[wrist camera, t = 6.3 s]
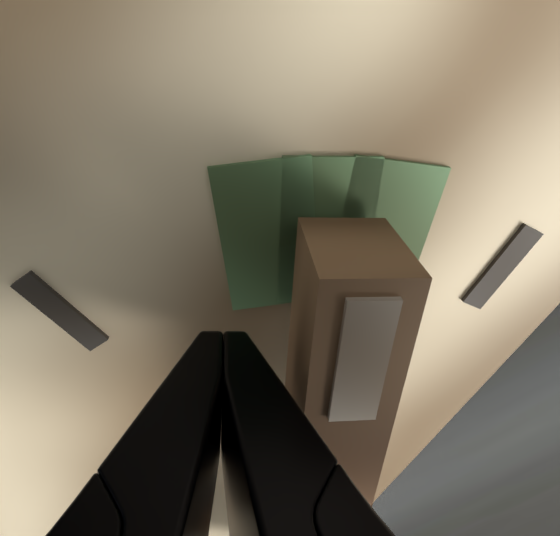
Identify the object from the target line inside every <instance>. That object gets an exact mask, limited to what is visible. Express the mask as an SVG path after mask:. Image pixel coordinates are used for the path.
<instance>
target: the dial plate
mask: <svg viewBox="0 0 560 536" xmlns="http://www.w3.org/2000/svg"><path fill="white" fill-rule="evenodd" d="M298 217H323V218H386V219H387V221H388V222H389V223H390V224H391V226H392V227H393V228H394V230H395V231H396V232H397V233H398V235H399V236H400V237H401V238H402V240H403V241H404V242H405V244H406V245H407V246H408V247H409V249H410V250H411V251H412V253H413V254H414V255H415V256H416V258H417V259H418V260H419V262H420V263H421V264H422V265H423V267H424V268H425V269H426V271H427V272H428V273H429V274H430V276H431V277H432V282H431V286H430V289H429V293H428V297H427V301H426V305H425V308H424V312H423V316H422V320H421V323H420V327H419V331H418V335H417V339H416V342H415V346H414V350H413V354H412V357H411V361H410V365H409V369H408V372H407V376H406V380H405V384H404V388H403V391H402V395H401V399H400V403H399V406H398V410H397V414H396V418H395V422H394V425H393V429H392V433H391V437H390V440H389V444H388V448H387V452H386V455H385V459H384V463H383V467H382V471H381V474H380V478H379V482H378V486H377V489H376V493H375V497H374V501H375V500H376V499H377V498H378V496H379V495H380V494H381V493H382V492H383V491H384V490H385V489H386V488H387V487H388V486H389V485H390V484H391V483H392V481H393V480H394V479H395V478H396V477H397V476H398V475H399V474H400V473H401V472H402V471H403V470H404V469H405V468H406V467H407V465H408V464H409V463H410V462H411V461H412V460H413V459H414V458H415V457H416V456H417V455H418V454H419V453H420V452H421V451H422V449H423V448H424V447H425V446H426V445H427V444H428V443H429V442H430V441H431V440H432V439H433V438H434V437H435V436H436V434H437V433H438V432H439V431H440V430H441V429H442V428H443V427H444V426H445V425H446V424H447V423H448V422H449V421H450V420H451V418H452V417H453V416H454V415H455V414H456V413H457V412H458V411H459V410H460V409H461V408H462V407H463V406H464V405H465V404H466V402H467V401H468V400H469V399H470V398H471V397H472V396H473V395H474V394H475V393H476V392H477V391H478V390H479V389H480V387H481V386H482V385H483V384H484V383H485V382H486V381H487V380H488V379H489V378H490V377H491V376H492V375H493V374H494V373H495V371H496V370H497V369H498V368H499V367H500V366H501V365H502V364H503V363H504V362H505V361H506V360H507V359H508V358H509V357H510V355H511V354H512V353H513V352H514V351H515V350H516V349H517V348H518V347H519V346H520V345H521V344H522V343H523V342H524V340H525V339H526V338H527V337H528V336H529V335H530V334H531V333H532V332H533V331H534V330H535V329H536V328H537V327H538V326H539V324H540V323H541V322H542V321H543V320H544V319H545V318H546V317H547V316H548V315H549V314H550V313H551V312H552V311H553V310H554V308H555V307H556V306H557V305H558V304H559V303H560V0H0V536H45V535H46V534H47V533H48V532H49V531H50V530H51V528H52V527H53V526H54V525H55V523H56V522H57V521H58V519H59V518H60V517H61V516H62V514H63V513H64V512H65V511H66V509H67V508H68V507H69V506H70V504H71V503H72V502H73V501H74V499H75V498H76V497H77V495H78V494H79V493H80V491H81V490H82V489H83V487H84V486H85V485H86V483H87V482H88V481H89V479H90V478H91V477H92V475H93V474H95V473H97V469H98V468H99V466H100V465H101V464H102V462H103V461H104V460H105V458H106V457H107V456H108V454H109V453H110V452H111V450H112V449H113V448H114V446H115V445H116V444H117V442H118V441H119V440H120V438H121V437H122V436H123V434H124V433H125V432H126V430H127V429H128V428H129V426H130V425H131V424H132V422H133V421H134V420H135V418H136V417H137V416H138V414H139V413H140V412H141V410H142V409H143V407H144V406H145V405H146V403H147V402H148V401H149V399H150V398H151V397H152V395H153V394H154V393H155V391H156V390H157V389H158V387H159V386H160V385H161V383H162V382H163V381H164V379H165V378H166V377H167V375H168V374H169V373H170V371H171V370H172V369H173V367H174V366H175V365H176V363H177V362H178V361H179V359H180V358H181V357H182V355H183V354H184V353H185V351H186V350H187V349H188V347H189V346H190V345H191V343H192V342H193V341H194V339H195V338H196V337H197V335H198V334H199V333H200V332H201V331H221V332H222V333H223V334H224V332H226V331H245V332H246V333H247V334H248V335H249V337H250V338H251V339H252V341H253V342H254V344H255V345H256V347H257V348H258V349H259V351H260V352H261V354H262V355H263V356H264V358H265V359H266V361H267V362H268V363H269V365H270V366H271V368H272V369H273V370H274V372H275V373H276V375H277V376H278V377H279V379H280V380H281V382H282V383H283V385H284V386H285V379H286V366H287V353H288V340H289V327H290V315H291V302H292V289H293V276H294V263H295V251H296V238H297V225H298ZM374 501H373V502H374ZM208 536H229V527H228V517H227V508H226V498H225V489H224V479H223V470H222V458H221V443H220V457H219V466H218V473H217V480H216V486H215V493H214V500H213V507H212V514H211V521H210V528H209V535H208Z"/></svg>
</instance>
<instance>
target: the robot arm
mask: <svg viewBox="0 0 560 536" xmlns="http://www.w3.org/2000/svg"><path fill="white" fill-rule="evenodd" d="M220 443H221V458H222V470H223V479H224V489H225V498H226V508H227V517H228V527H229V536H395V535H394V533H393V532H392V531H391V530H390V529H389V528H388V526H387V525H386V524H385V523H384V522H383V521H382V519H381V518H380V517H379V516H378V515H377V513H376V512H375V511H374V509H373V508H372V507H371V505H370V504H369V503H368V501H367V500H366V499H365V498H364V496H363V495H362V494H361V492H360V491H359V490H358V488H357V487H356V486H355V484H354V483H353V481H352V480H351V479H350V477H349V476H348V474H347V473H346V471H345V470H344V469H343V467H342V466H341V465H340V464H337V463H338V461H337V459H336V458H335V456H334V455H333V453H332V452H331V451H330V449H329V448H328V446H327V445H326V444H325V442H324V441H323V439H322V438H321V437H320V435H319V434H318V432H317V431H316V430H315V428H314V427H313V425H312V424H311V423H310V421H309V420H308V418H307V417H306V415H305V414H304V413H303V411H302V410H301V408H300V407H299V406H298V404H297V403H296V401H295V400H294V399H293V397H292V396H291V394H290V393H289V392H288V390H287V389H286V387H285V386H284V385H283V383H282V382H281V380H280V379H279V377H278V376H277V375H276V373H275V372H274V370H273V369H272V368H271V366H270V365H269V363H268V362H267V361H266V359H265V358H264V356H263V355H262V354H261V352H260V351H259V349H258V348H257V347H256V345H255V344H254V342H253V341H252V339H251V338H250V337H249V335H248V334H247V333H246V332H245V331H226V332H224V334H223V333H222V332H221V331H201V332H200V333H199V334H198V335H197V337H196V338H195V339H194V341H193V342H192V343H191V345H190V346H189V347H188V349H187V350H186V351H185V353H184V354H183V355H182V357H181V358H180V359H179V361H178V362H177V363H176V365H175V366H174V367H173V369H172V370H171V371H170V373H169V374H168V375H167V377H166V378H165V379H164V381H163V382H162V383H161V385H160V386H159V387H158V389H157V390H156V391H155V393H154V394H153V395H152V397H151V398H150V399H149V401H148V402H147V403H146V405H145V406H144V407H143V409H142V410H141V412H140V413H139V414H138V416H137V417H136V418H135V420H134V421H133V422H132V424H131V425H130V426H129V428H128V429H127V430H126V432H125V433H124V434H123V436H122V437H121V438H120V440H119V441H118V442H117V444H116V445H115V446H114V448H113V449H112V450H111V452H110V453H109V454H108V456H107V457H106V458H105V460H104V461H103V462H102V464H101V465H100V466H99V468H98V469H97V473H95V474H93V475H92V477H91V478H90V479H89V481H88V482H87V483H86V485H85V486H84V487H83V489H82V490H81V491H80V493H79V494H78V495H77V497H76V498H75V499H74V501H73V502H72V503H71V504H70V506H69V507H68V508H67V509H66V511H65V512H64V513H63V514H62V516H61V517H60V518H59V519H58V521H57V522H56V523H55V525H54V526H53V527H52V528H51V530H50V531H49V532H48V533H47V534H46V535H45V536H208V535H209V528H210V521H211V514H212V507H213V500H214V493H215V486H216V480H217V473H218V466H219V457H220Z"/></svg>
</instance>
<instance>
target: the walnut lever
mask: <svg viewBox="0 0 560 536" xmlns="http://www.w3.org/2000/svg"><path fill="white" fill-rule="evenodd" d="M431 282H432V277H431V276H430V274H429V273H428V272H427V271H426V269H425V268H424V267H423V265H422V264H421V263H420V262H419V260H418V259H417V258H416V256H415V255H414V254H413V253H412V251H411V250H410V249H409V247H408V246H407V245H406V244H405V242H404V241H403V240H402V238H401V237H400V236H399V235H398V233H397V232H396V231H395V230H394V228H393V227H392V226H391V224H390V223H389V222H388V221H387V219H386V218H323V217H298V225H297V238H296V251H295V263H294V276H293V289H292V302H291V315H290V327H289V340H288V353H287V366H286V379H285V387H286V389H287V390H288V392H289V393H290V394H291V396H292V397H293V399H294V400H295V401H296V403H297V404H298V406H299V407H300V408H301V410H302V411H303V413H304V414H305V415H306V417H307V418H308V420H309V421H310V423H311V424H312V425H313V427H314V428H315V430H316V431H317V432H318V434H319V435H320V437H321V438H322V439H323V441H324V442H325V444H326V445H327V446H328V448H329V449H330V451H331V452H332V453H333V455H334V456H335V458H336V459H337V461H338V463H337V464H340V465H341V466H342V467H343V469H344V470H345V471H346V473H347V474H348V476H349V477H350V479H351V480H352V481H353V483H354V484H355V486H356V487H357V488H358V490H359V491H360V492H361V494H362V495H363V496H364V498H365V499H366V500H367V501H368V503H369V504H370V505H371V507H372V505H373V501H374V497H375V493H376V489H377V486H378V482H379V478H380V474H381V471H382V467H383V463H384V459H385V455H386V452H387V448H388V444H389V440H390V437H391V433H392V429H393V425H394V422H395V418H396V414H397V410H398V406H399V403H400V399H401V395H402V391H403V388H404V384H405V380H406V376H407V372H408V369H409V365H410V361H411V357H412V354H413V350H414V346H415V342H416V339H417V335H418V331H419V327H420V323H421V320H422V316H423V312H424V308H425V305H426V301H427V297H428V293H429V289H430V286H431Z"/></svg>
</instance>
